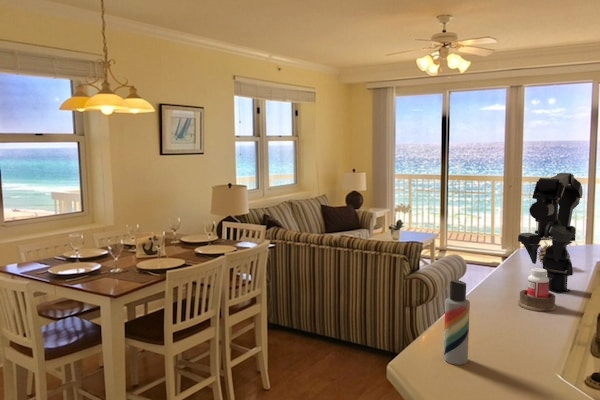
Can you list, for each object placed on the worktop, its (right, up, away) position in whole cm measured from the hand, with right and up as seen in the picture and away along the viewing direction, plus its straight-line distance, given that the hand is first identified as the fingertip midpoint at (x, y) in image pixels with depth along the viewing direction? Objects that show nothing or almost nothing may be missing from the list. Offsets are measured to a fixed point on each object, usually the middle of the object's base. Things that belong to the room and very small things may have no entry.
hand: (545, 262), depth 166 cm
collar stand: (-5, -14, -4) cm, 15 cm away
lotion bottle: (-44, -19, -44) cm, 64 cm away
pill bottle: (-5, -13, -4) cm, 14 cm away
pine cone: (+25, -8, +48) cm, 55 cm away
